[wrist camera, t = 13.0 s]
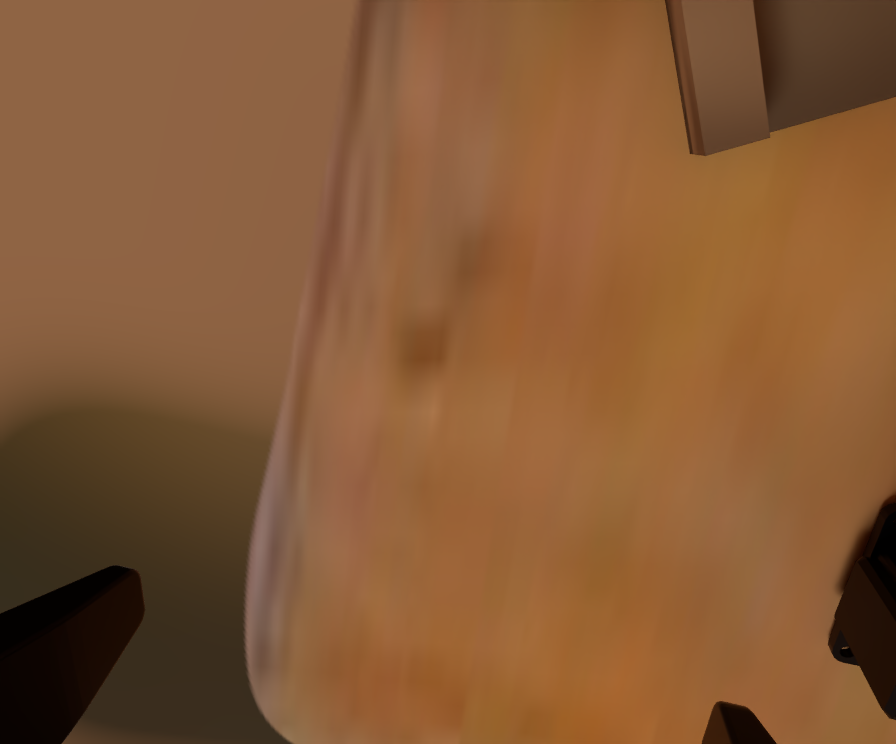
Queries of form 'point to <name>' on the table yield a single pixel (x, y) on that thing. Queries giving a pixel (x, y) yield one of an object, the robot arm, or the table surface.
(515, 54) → the table surface
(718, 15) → the walnut u rest
